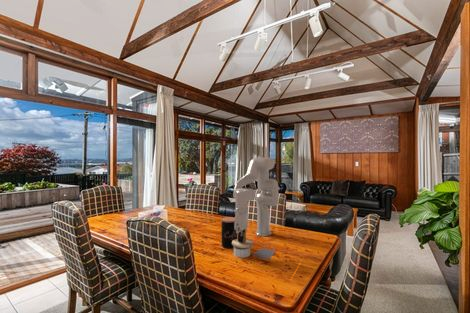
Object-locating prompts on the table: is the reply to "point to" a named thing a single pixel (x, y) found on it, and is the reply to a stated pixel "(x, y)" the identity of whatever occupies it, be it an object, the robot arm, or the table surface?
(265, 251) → the mat
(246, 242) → the lid
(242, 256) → the bowl
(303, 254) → the table surface
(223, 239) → the coffee jar
